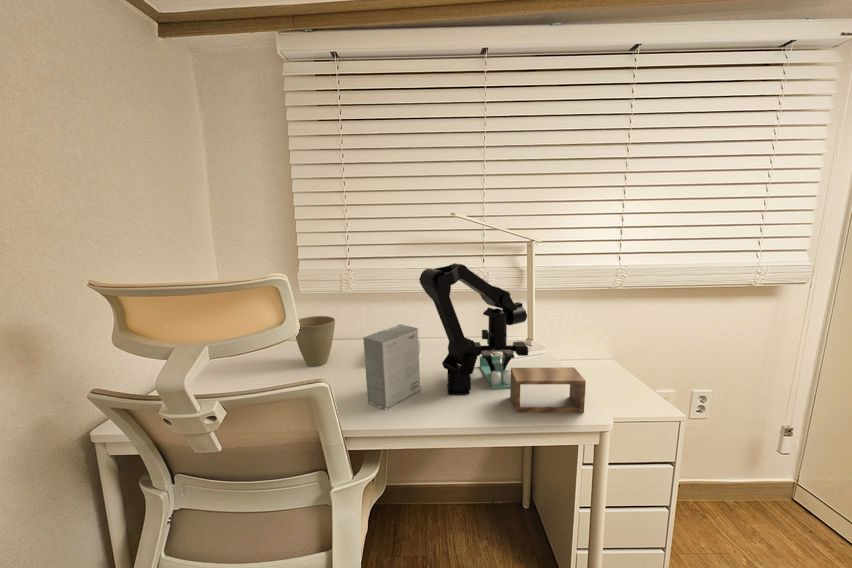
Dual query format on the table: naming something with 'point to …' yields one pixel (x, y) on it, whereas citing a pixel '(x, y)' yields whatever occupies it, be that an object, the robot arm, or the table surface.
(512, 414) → the table surface
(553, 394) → the table surface
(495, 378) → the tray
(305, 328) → the plant pot
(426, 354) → the table surface
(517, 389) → the shelf
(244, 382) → the table surface
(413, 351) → the hard drive box
